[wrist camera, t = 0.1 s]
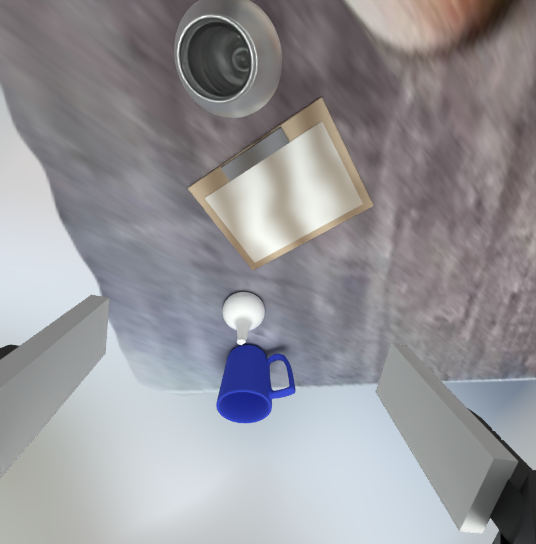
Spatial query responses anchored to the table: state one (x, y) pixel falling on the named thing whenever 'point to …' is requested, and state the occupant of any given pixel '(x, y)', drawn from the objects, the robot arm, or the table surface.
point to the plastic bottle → (228, 56)
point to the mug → (249, 385)
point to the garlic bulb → (243, 313)
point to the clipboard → (284, 187)
